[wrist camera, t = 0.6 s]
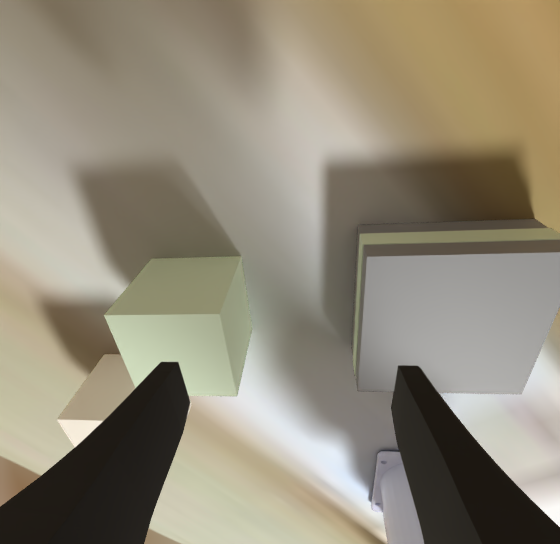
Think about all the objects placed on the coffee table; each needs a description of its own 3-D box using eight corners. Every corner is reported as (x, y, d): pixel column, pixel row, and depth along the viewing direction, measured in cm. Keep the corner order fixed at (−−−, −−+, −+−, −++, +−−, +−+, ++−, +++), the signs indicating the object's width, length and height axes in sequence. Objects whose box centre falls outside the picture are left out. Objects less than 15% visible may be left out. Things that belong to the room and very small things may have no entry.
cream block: (191, 403, 28) (166, 473, 23) (127, 402, 28) (90, 470, 23) (176, 353, 25) (143, 421, 20) (104, 353, 25) (56, 419, 21)
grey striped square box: (489, 345, 22) (522, 394, 19) (350, 344, 23) (356, 391, 20) (532, 215, 18) (585, 250, 14) (356, 221, 19) (365, 255, 15)
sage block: (252, 327, 23) (236, 396, 18) (173, 328, 24) (138, 394, 19) (241, 255, 20) (219, 314, 15) (151, 258, 21) (103, 315, 16)
